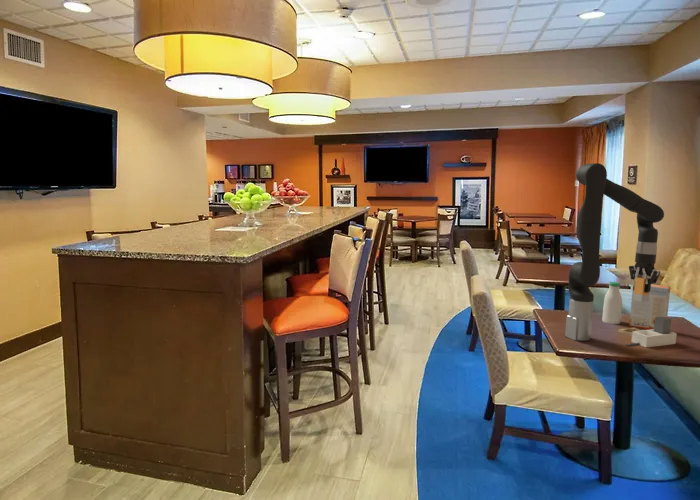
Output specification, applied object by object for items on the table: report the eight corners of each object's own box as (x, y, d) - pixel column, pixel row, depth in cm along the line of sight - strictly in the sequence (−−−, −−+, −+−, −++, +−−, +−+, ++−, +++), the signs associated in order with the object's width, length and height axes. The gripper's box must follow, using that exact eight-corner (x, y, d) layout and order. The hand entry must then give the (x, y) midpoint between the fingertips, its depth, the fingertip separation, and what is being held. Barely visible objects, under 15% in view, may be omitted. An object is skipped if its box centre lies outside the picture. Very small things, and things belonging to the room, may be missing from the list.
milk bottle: (623, 325, 224) (627, 284, 221) (607, 324, 224) (610, 284, 221) (614, 320, 232) (618, 280, 229) (599, 320, 232) (602, 280, 229)
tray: (635, 339, 204) (635, 335, 204) (618, 332, 213) (618, 329, 212) (651, 337, 207) (651, 333, 206) (634, 331, 215) (634, 327, 215)
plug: (641, 302, 202) (643, 279, 200) (633, 299, 205) (635, 277, 204) (648, 301, 203) (651, 278, 201) (640, 299, 207) (642, 276, 205)
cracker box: (666, 330, 217) (671, 286, 214) (663, 333, 212) (668, 288, 209) (631, 324, 226) (636, 281, 223) (628, 326, 222) (632, 283, 219)
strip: (634, 349, 191) (636, 323, 190) (620, 344, 198) (622, 318, 196) (675, 344, 198) (678, 319, 196) (660, 339, 204) (662, 314, 203)
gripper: (625, 250, 206) (621, 288, 209) (654, 255, 193) (650, 295, 196) (638, 249, 209) (634, 287, 211) (668, 254, 195) (663, 294, 198)
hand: (641, 291), depth 203 cm, fingers closed on plug, 4 cm apart
